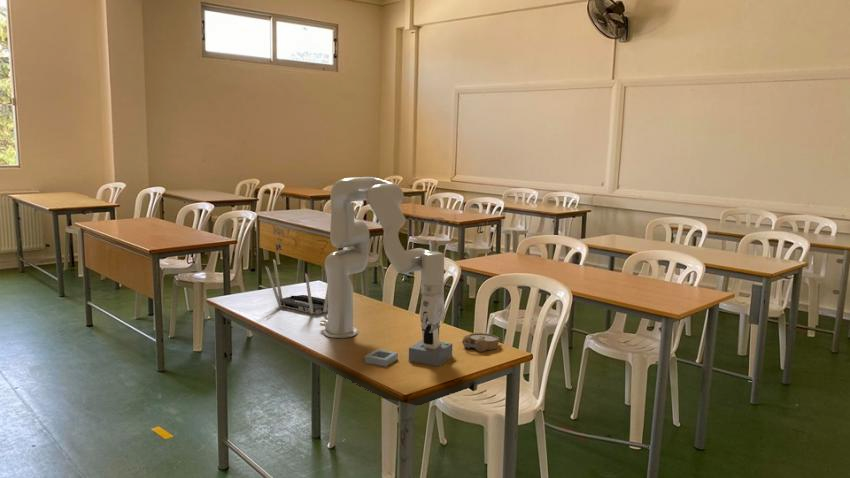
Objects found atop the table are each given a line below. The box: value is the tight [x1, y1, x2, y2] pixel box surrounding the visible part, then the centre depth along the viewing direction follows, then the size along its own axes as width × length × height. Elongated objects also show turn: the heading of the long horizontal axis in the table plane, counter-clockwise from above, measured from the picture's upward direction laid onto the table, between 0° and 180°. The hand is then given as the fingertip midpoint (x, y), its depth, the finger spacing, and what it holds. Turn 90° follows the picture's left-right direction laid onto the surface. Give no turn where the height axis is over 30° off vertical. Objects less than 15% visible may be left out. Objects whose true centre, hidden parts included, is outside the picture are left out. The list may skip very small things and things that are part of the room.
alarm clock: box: [461, 332, 501, 353], centre depth 226 cm, size 11×5×15 cm
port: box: [408, 338, 453, 367], centre depth 213 cm, size 11×11×5 cm
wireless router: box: [264, 259, 328, 315], centre depth 269 cm, size 34×23×20 cm
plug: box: [421, 322, 440, 349], centre depth 212 cm, size 4×4×10 cm
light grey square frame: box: [364, 348, 399, 368], centre depth 210 cm, size 8×8×2 cm
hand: (431, 341), depth 212 cm, fingers closed on plug, 4 cm apart
